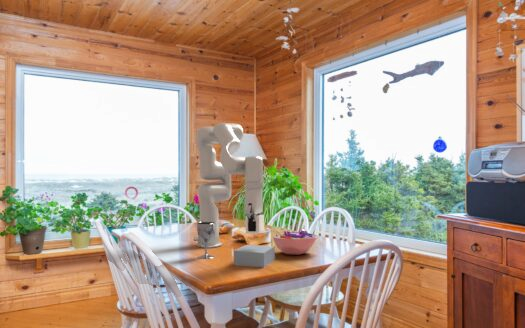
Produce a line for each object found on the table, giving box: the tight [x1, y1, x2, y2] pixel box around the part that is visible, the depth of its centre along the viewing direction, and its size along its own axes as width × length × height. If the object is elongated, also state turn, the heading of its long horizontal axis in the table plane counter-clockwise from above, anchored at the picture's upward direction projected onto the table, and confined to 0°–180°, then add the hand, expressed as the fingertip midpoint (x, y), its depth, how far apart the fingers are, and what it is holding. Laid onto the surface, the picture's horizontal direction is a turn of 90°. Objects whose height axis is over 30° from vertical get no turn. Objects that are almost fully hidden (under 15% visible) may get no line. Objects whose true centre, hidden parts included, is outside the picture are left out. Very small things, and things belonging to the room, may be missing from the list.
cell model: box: [272, 228, 318, 256], centre depth 173 cm, size 17×20×11 cm
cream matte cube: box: [244, 214, 265, 235], centre depth 157 cm, size 6×6×7 cm
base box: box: [233, 244, 276, 268], centre depth 158 cm, size 13×13×6 cm
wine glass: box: [196, 221, 215, 260], centre depth 168 cm, size 8×8×15 cm
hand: (254, 229), depth 157 cm, fingers closed on cream matte cube, 6 cm apart
